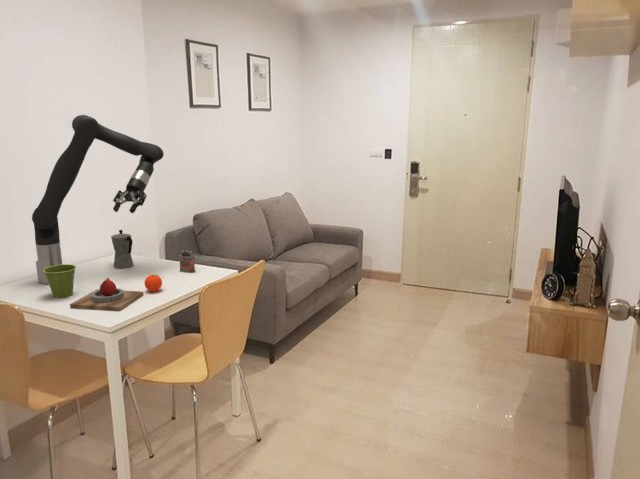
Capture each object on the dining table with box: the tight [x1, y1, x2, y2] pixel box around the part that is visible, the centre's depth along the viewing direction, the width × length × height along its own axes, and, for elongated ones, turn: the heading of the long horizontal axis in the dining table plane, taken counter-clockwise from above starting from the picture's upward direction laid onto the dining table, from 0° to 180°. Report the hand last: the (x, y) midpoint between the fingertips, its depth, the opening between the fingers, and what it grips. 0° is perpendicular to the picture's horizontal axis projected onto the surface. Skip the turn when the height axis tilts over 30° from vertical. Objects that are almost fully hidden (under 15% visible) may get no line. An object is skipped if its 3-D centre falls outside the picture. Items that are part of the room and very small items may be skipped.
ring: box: [91, 287, 124, 303], centre depth 196 cm, size 11×11×2 cm
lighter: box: [178, 249, 196, 274], centre depth 236 cm, size 8×3×10 cm, turn 68°
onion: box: [99, 277, 117, 297], centre depth 195 cm, size 6×6×8 cm
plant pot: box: [43, 263, 77, 299], centre depth 202 cm, size 12×12×11 cm
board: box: [69, 288, 144, 312], centre depth 196 cm, size 20×18×2 cm
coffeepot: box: [110, 229, 134, 270], centre depth 242 cm, size 15×9×18 cm, turn 51°
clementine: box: [144, 273, 164, 292], centre depth 208 cm, size 8×7×7 cm
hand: (123, 211), depth 219 cm, fingers open, 8 cm apart
